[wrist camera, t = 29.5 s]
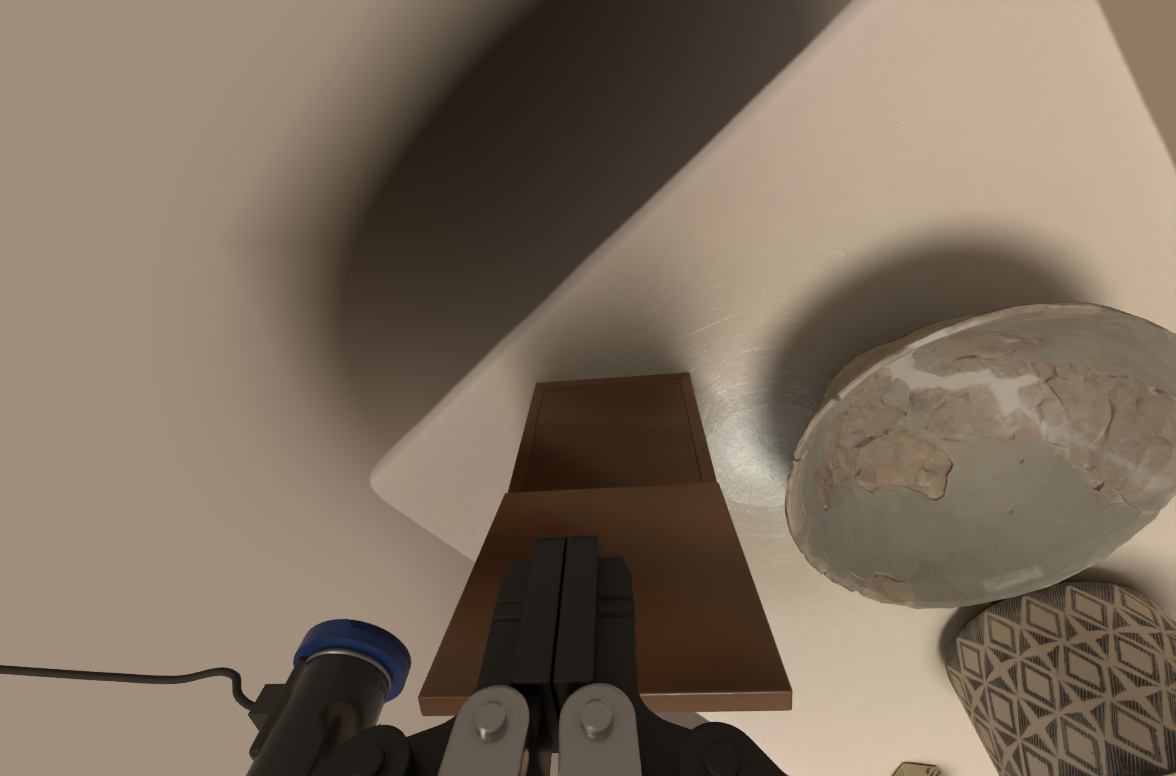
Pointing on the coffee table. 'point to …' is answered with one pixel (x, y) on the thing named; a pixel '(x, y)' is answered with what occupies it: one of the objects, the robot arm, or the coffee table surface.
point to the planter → (1071, 682)
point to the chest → (612, 435)
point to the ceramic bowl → (987, 454)
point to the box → (917, 770)
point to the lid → (636, 597)
